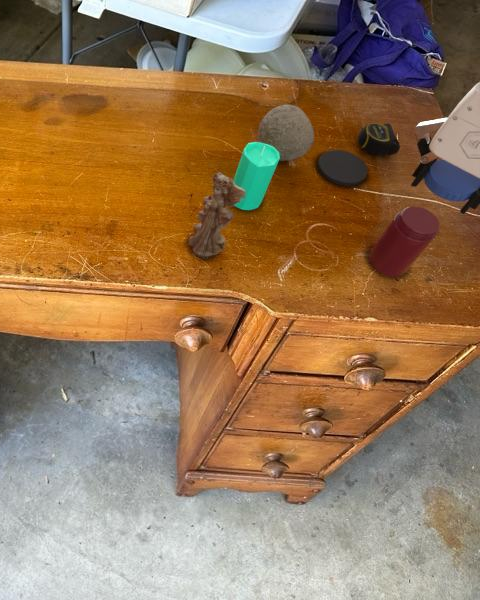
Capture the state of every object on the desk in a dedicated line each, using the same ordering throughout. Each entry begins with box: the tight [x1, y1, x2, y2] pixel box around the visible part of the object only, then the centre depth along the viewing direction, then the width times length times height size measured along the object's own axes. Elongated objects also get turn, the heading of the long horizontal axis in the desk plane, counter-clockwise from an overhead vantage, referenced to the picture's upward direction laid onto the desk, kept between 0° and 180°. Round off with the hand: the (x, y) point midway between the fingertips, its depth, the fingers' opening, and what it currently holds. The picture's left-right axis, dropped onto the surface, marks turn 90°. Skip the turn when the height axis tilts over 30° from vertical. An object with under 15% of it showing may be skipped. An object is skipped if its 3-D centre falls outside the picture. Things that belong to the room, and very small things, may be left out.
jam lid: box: [423, 159, 480, 203], centre depth 80 cm, size 7×7×2 cm
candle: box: [233, 141, 280, 211], centre depth 98 cm, size 6×6×12 cm
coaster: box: [317, 149, 368, 187], centre depth 108 cm, size 9×9×1 cm
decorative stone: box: [257, 103, 315, 162], centre depth 105 cm, size 10×8×10 cm
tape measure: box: [357, 122, 401, 157], centre depth 110 cm, size 7×7×4 cm
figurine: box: [188, 171, 246, 259], centre depth 90 cm, size 7×6×15 cm
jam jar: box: [368, 205, 440, 277], centre depth 91 cm, size 6×6×10 cm
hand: (441, 194), depth 82 cm, fingers closed on jam lid, 6 cm apart
